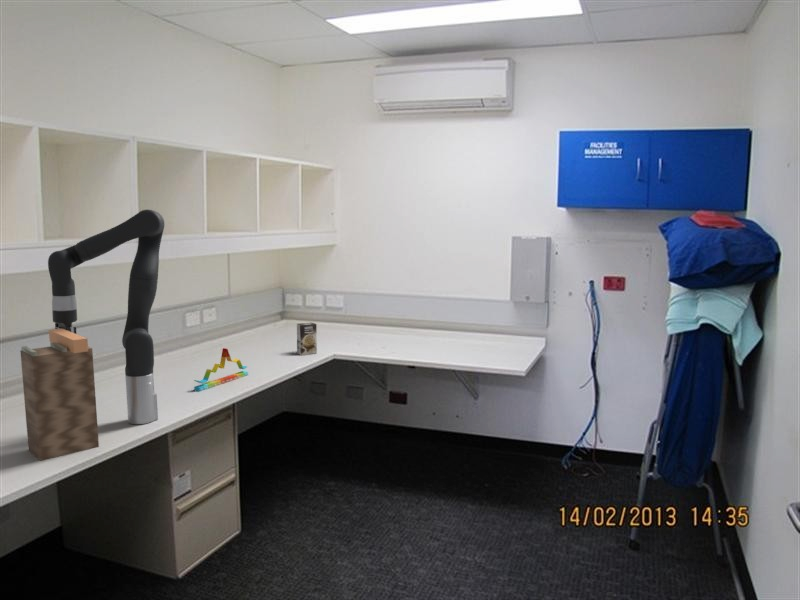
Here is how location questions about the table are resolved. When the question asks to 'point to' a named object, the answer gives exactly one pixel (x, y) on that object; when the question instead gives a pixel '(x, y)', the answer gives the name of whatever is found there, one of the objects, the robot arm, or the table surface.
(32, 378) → the stand
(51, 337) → the tan wooden block
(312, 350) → the coffee box
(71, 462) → the table surface
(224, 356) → the chart
